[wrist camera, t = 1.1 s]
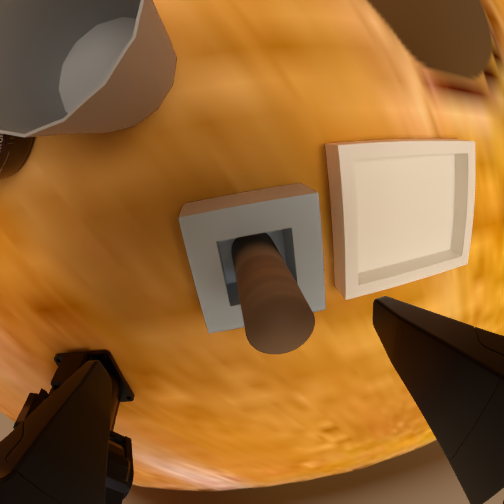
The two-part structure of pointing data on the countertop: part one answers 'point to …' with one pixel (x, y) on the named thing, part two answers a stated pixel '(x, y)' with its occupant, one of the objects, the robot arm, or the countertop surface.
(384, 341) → the robot arm
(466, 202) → the tray
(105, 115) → the cup
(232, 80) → the countertop surface
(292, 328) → the dowel
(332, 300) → the countertop surface
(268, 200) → the grey square peg base
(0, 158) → the supplement bottle
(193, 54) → the countertop surface
